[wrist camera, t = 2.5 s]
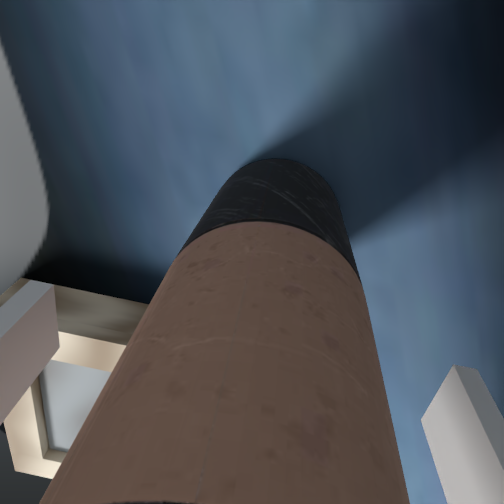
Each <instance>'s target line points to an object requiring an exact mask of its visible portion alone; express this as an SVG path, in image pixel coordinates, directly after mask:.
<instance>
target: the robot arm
mask: <svg viewBox="0 0 504 504" xmlns="http://www.w3.org/2000/svg"><path fill="white" fill-rule="evenodd" d="M59 348H60V343H59V333H58V323H57V313H56V303H55V293H54V284H49V283H44V282H39V281H34V280H30V281H29V282H28V283H26V284H25V285H24V286H23V287H22V288H21V289H20V290H19V291H18V292H17V293H15V294H14V295H13V296H12V297H11V298H10V299H9V300H8V301H7V302H6V303H4V304H3V305H2V306H1V307H0V425H1V424H2V422H3V421H4V420H5V418H6V417H7V416H8V414H9V413H10V412H11V410H12V409H13V408H14V407H15V405H16V404H17V403H18V401H19V400H20V399H21V397H22V396H23V395H24V394H25V392H26V391H27V390H28V388H29V387H30V386H31V384H32V383H33V382H34V380H35V379H36V378H37V377H38V375H39V374H40V373H41V371H42V370H43V369H44V367H45V366H46V365H47V363H48V362H49V361H50V360H51V358H52V357H53V356H54V354H55V353H56V352H57V350H58V349H59ZM421 422H422V425H423V428H424V431H425V434H426V437H427V441H428V444H429V447H430V450H431V453H432V456H433V459H434V462H435V465H436V469H437V472H438V475H439V478H440V481H441V484H442V487H443V490H444V494H445V497H446V500H447V503H448V504H504V419H503V417H502V415H501V413H500V411H499V409H498V407H497V406H496V404H495V402H494V400H493V398H492V396H491V394H490V393H489V391H488V389H487V387H486V385H485V383H484V381H483V380H482V378H481V376H480V374H479V372H478V370H477V369H473V368H468V367H463V366H458V365H453V366H452V368H451V370H450V371H449V373H448V375H447V376H446V378H445V380H444V382H443V383H442V385H441V387H440V388H439V390H438V392H437V393H436V395H435V397H434V399H433V400H432V402H431V404H430V405H429V407H428V409H427V411H426V412H425V414H424V416H423V417H422V419H421Z"/></svg>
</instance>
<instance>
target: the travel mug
mask: <svg viewBox="0 0 504 504" xmlns="http://www.w3.org/2000/svg"><path fill="white" fill-rule="evenodd" d="M39 504H410V502H409V497H408V493H407V488H406V484H405V479H404V474H403V470H402V465H401V460H400V456H399V451H398V446H397V442H396V437H395V432H394V428H393V423H392V419H391V414H390V409H389V405H388V400H387V395H386V391H385V386H384V381H383V377H382V372H381V368H380V363H379V358H378V354H377V349H376V344H375V340H374V335H373V330H372V326H371V321H370V316H369V312H368V307H367V303H366V298H365V294H364V290H363V287H362V284H361V280H360V277H359V273H358V270H357V266H356V263H355V259H354V256H353V252H352V249H351V246H350V242H349V239H348V235H347V232H346V228H345V225H344V221H343V218H342V215H341V211H340V208H339V205H338V202H337V199H336V197H335V195H334V193H333V191H332V189H331V188H330V186H329V185H328V183H327V182H326V181H325V180H324V179H323V178H322V177H321V176H320V175H319V174H318V173H317V172H315V171H314V170H312V169H311V168H309V167H307V166H305V165H303V164H300V163H298V162H295V161H290V160H285V159H266V160H261V161H257V162H254V163H251V164H249V165H247V166H245V167H243V168H241V169H240V170H238V171H237V172H235V173H234V174H233V175H232V176H231V177H230V178H229V179H228V180H227V181H226V182H225V184H224V185H223V186H222V187H221V189H220V190H219V192H218V193H217V195H216V196H215V198H214V199H213V201H212V202H211V204H210V206H209V207H208V209H207V210H206V212H205V213H204V215H203V216H202V218H201V219H200V221H199V223H198V224H197V226H196V227H195V229H194V230H193V232H192V233H191V235H190V236H189V238H188V240H187V241H186V243H185V244H184V246H183V247H182V249H181V250H180V252H179V253H178V255H177V257H176V258H175V260H174V261H173V263H172V265H171V266H170V268H169V270H168V271H167V273H166V275H165V277H164V279H163V280H162V282H161V284H160V286H159V288H158V290H157V291H156V293H155V295H154V297H153V299H152V300H151V302H150V304H149V306H148V308H147V309H146V311H145V313H144V315H143V317H142V318H141V320H140V322H139V324H138V326H137V328H136V329H135V331H134V333H133V335H132V337H131V338H130V340H129V342H128V344H127V346H126V347H125V349H124V351H123V353H122V355H121V356H120V358H119V360H118V362H117V364H116V365H115V367H114V369H113V371H112V373H111V375H110V376H109V378H108V380H107V382H106V384H105V385H104V387H103V389H102V391H101V393H100V394H99V396H98V398H97V400H96V402H95V403H94V405H93V407H92V409H91V411H90V412H89V414H88V416H87V418H86V420H85V422H84V423H83V425H82V427H81V429H80V431H79V432H78V434H77V436H76V438H75V440H74V441H73V443H72V445H71V447H70V449H69V450H68V452H67V454H66V456H65V458H64V459H63V461H62V463H61V465H60V467H59V469H58V470H57V472H56V474H55V476H54V478H53V479H52V481H51V483H50V485H49V487H48V488H47V490H46V492H45V494H44V496H43V497H42V499H41V501H40V503H39Z"/></svg>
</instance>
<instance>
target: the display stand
mask: <svg viewBox="0 0 504 504" xmlns="http://www.w3.org/2000/svg"><path fill="white" fill-rule="evenodd" d="M29 281H30V280H29V279H24V278H20V279H19V280H18V281H17V282H16V283H15V284H13V285H12V286H11V287H10V288H9V289H8V290H6V291H5V292H4V293H3V294H2V295H1V296H0V307H1V306H2V305H3V304H4V303H6V302H7V301H8V300H9V299H10V298H11V297H12V296H13V295H14V294H15V293H17V292H18V291H19V290H20V289H21V288H22V287H23V286H24V285H25V284H26V283H28V282H29ZM54 293H55V303H56V313H57V323H58V333H59V343H60V348H59V349H58V350H57V352H56V353H55V354H54V356H53V357H52V358H51V360H50V361H49V362H48V363H47V365H46V366H45V367H44V369H43V370H42V371H41V373H40V374H39V375H38V377H37V378H36V379H35V380H34V382H33V383H32V384H31V386H30V387H29V388H28V390H27V391H26V392H25V394H24V395H23V396H22V397H21V399H20V400H19V401H18V403H17V404H16V405H15V407H14V408H13V409H12V410H11V412H10V413H9V414H8V416H7V417H6V418H5V420H4V425H5V429H6V434H7V438H8V442H9V446H10V450H11V455H12V459H13V463H14V468H15V471H19V472H23V473H28V474H33V475H37V476H42V477H47V478H51V479H53V478H54V476H55V474H56V472H57V470H58V469H59V467H60V465H61V463H62V461H63V459H64V458H65V456H66V454H67V452H68V450H69V449H70V447H71V445H72V443H73V441H74V440H75V438H76V436H77V434H78V432H79V431H80V429H81V427H82V425H83V423H84V422H85V420H86V418H87V416H88V414H89V412H90V411H91V409H92V407H93V405H94V403H95V402H96V400H97V398H98V396H99V394H100V393H101V391H102V389H103V387H104V385H105V384H106V382H107V380H108V378H109V376H110V375H111V373H112V371H113V369H114V367H115V365H116V364H117V362H118V360H119V358H120V356H121V355H122V353H123V351H124V349H125V347H126V346H127V344H128V342H129V340H130V338H131V337H132V335H133V333H134V331H135V329H136V328H137V326H138V324H139V322H140V320H141V318H142V317H143V315H144V313H145V311H146V309H147V308H148V306H149V304H144V303H140V302H135V301H130V300H125V299H120V298H116V297H111V296H106V295H101V294H96V293H92V292H87V291H82V290H77V289H72V288H68V287H63V286H58V285H54Z"/></svg>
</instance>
